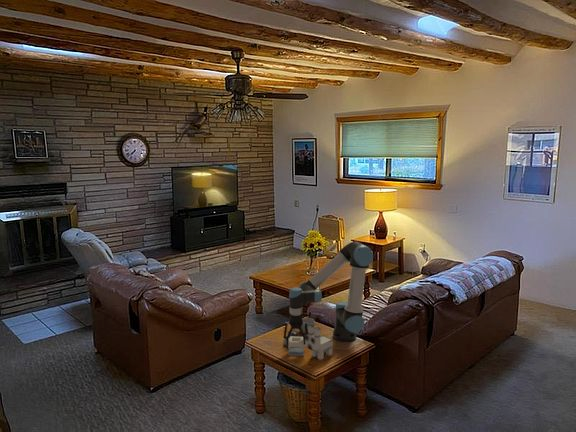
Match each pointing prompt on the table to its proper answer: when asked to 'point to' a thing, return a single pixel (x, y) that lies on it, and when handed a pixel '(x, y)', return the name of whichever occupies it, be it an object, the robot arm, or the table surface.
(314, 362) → the table surface
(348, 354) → the table surface
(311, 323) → the teacup
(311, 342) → the toy llama
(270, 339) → the table surface
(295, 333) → the ring stand
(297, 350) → the slate mat
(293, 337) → the cream ring
